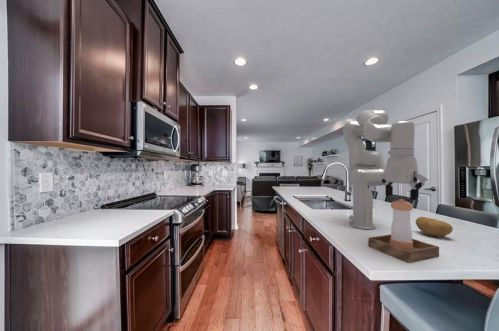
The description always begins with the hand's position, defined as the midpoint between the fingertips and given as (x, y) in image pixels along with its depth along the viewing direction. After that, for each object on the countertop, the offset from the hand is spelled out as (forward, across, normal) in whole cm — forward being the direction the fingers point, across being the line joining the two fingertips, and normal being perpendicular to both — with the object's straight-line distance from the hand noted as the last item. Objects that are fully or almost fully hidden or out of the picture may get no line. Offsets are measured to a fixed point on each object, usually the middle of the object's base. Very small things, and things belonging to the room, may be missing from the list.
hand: (400, 197), depth 84 cm
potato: (+21, -7, +32) cm, 40 cm away
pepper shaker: (+20, +1, 0) cm, 20 cm away
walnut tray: (+20, +1, 0) cm, 21 cm away
